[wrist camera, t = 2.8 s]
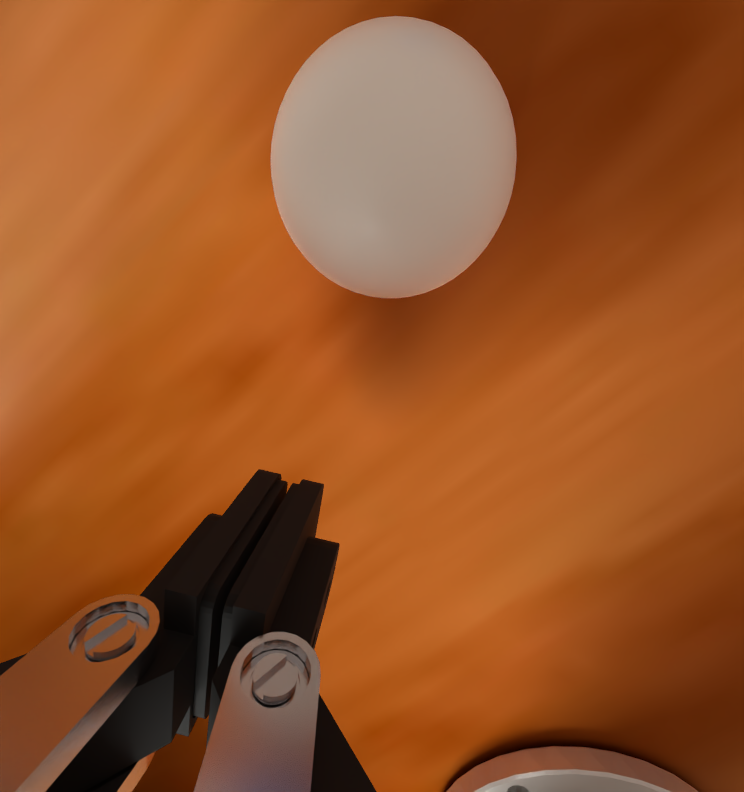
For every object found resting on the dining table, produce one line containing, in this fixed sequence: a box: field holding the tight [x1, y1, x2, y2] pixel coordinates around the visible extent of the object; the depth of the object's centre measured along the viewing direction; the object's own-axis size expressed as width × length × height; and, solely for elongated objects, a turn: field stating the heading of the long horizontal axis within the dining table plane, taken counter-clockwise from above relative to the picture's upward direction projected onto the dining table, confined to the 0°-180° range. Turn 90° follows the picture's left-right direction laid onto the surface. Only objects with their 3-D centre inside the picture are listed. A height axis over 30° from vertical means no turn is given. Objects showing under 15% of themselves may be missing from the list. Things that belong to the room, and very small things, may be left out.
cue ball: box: [271, 16, 517, 298], centre depth 9 cm, size 6×6×6 cm
